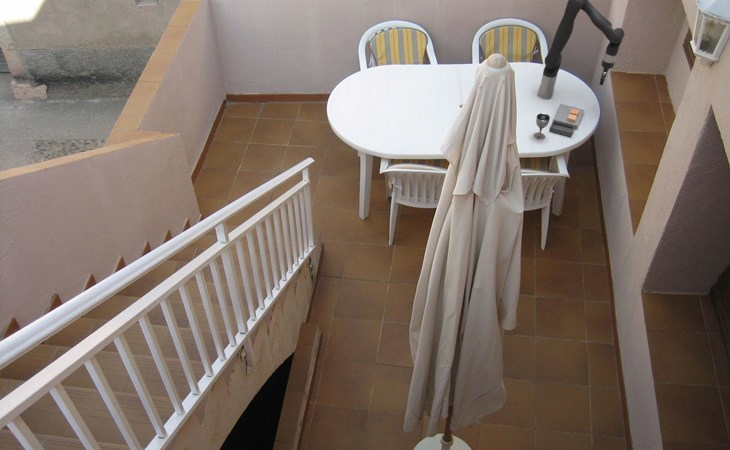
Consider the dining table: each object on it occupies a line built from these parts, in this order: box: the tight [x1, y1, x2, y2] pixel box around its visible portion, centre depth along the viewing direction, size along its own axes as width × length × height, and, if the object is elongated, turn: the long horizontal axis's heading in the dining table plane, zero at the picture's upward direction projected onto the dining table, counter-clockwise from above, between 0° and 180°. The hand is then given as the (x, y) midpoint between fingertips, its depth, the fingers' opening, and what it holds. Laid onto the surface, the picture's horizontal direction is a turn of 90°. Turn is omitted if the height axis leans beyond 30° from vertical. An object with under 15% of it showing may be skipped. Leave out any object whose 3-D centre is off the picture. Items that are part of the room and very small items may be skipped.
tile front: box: [567, 114, 577, 123], centre depth 443 cm, size 5×5×2 cm
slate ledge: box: [552, 103, 585, 130], centre depth 449 cm, size 16×19×3 cm
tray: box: [548, 119, 575, 138], centre depth 440 cm, size 14×9×4 cm, turn 65°
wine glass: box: [533, 112, 551, 141], centre depth 432 cm, size 8×8×15 cm
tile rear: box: [570, 108, 579, 116], centre depth 447 cm, size 5×5×2 cm
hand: (602, 81), depth 438 cm, fingers open, 8 cm apart
